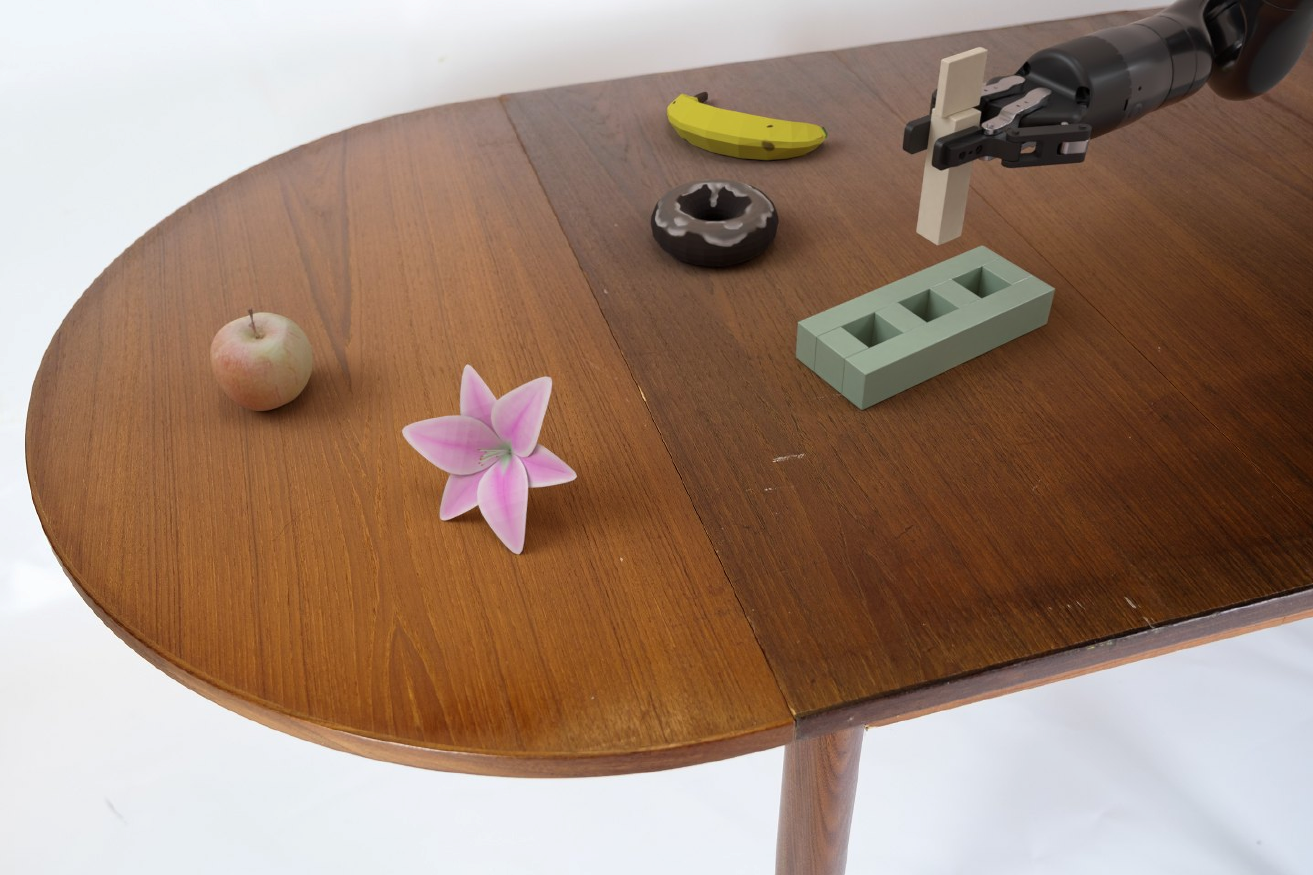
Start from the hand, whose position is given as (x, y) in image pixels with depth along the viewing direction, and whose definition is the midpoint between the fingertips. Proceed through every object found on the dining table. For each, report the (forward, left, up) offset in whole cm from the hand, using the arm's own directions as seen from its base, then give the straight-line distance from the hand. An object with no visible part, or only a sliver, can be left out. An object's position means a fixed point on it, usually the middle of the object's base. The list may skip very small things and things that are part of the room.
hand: (922, 147), depth 79 cm
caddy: (-1, -3, -18) cm, 18 cm away
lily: (+14, +31, -18) cm, 39 cm away
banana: (+32, -26, -18) cm, 45 cm away
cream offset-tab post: (-1, -3, -8) cm, 9 cm away
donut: (+22, -6, -18) cm, 29 cm away
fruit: (+37, +33, -18) cm, 53 cm away
